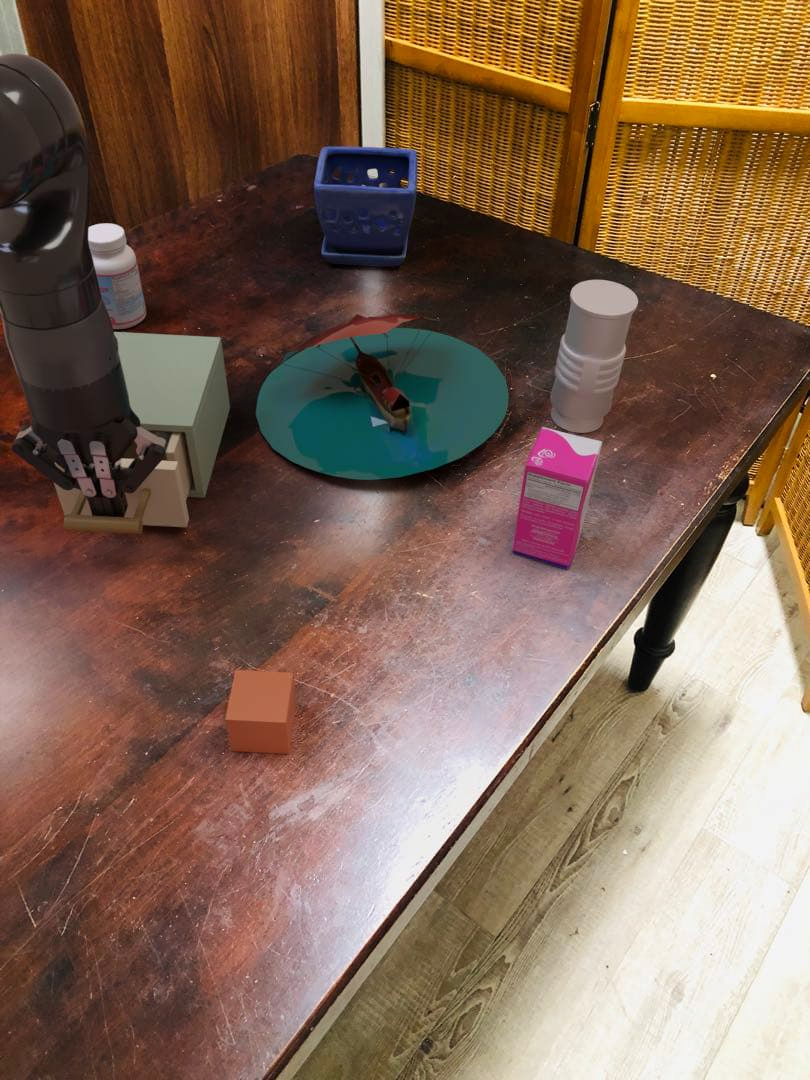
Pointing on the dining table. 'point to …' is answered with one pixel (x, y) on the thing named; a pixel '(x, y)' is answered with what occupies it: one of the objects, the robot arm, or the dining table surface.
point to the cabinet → (179, 392)
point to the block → (261, 711)
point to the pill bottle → (117, 275)
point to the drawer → (140, 495)
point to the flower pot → (365, 204)
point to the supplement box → (555, 497)
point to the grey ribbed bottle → (591, 354)
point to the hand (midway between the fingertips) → (113, 518)
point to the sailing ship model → (381, 400)
